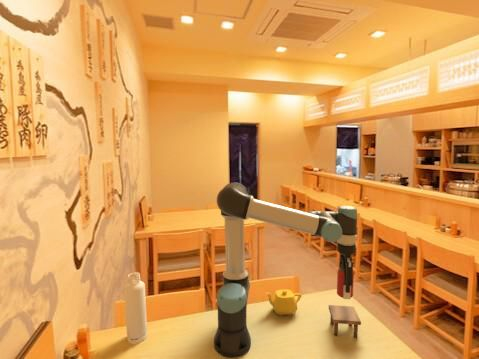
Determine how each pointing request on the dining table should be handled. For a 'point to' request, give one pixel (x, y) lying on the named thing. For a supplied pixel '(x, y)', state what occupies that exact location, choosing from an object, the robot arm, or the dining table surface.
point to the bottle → (135, 309)
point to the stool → (344, 318)
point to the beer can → (340, 282)
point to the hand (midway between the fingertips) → (344, 294)
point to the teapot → (284, 302)
